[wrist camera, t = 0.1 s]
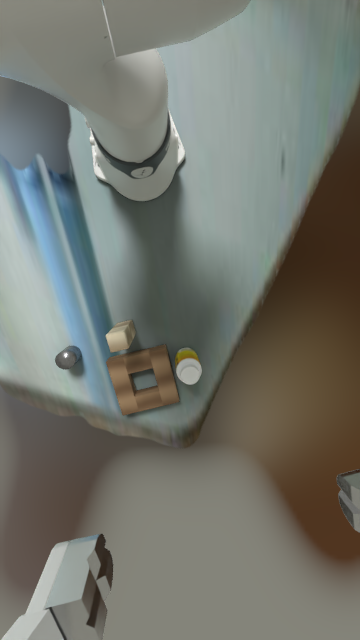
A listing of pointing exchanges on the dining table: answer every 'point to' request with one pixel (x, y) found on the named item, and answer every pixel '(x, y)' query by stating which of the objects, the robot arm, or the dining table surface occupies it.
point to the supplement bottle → (188, 366)
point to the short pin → (68, 357)
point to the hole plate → (147, 397)
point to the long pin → (121, 336)
